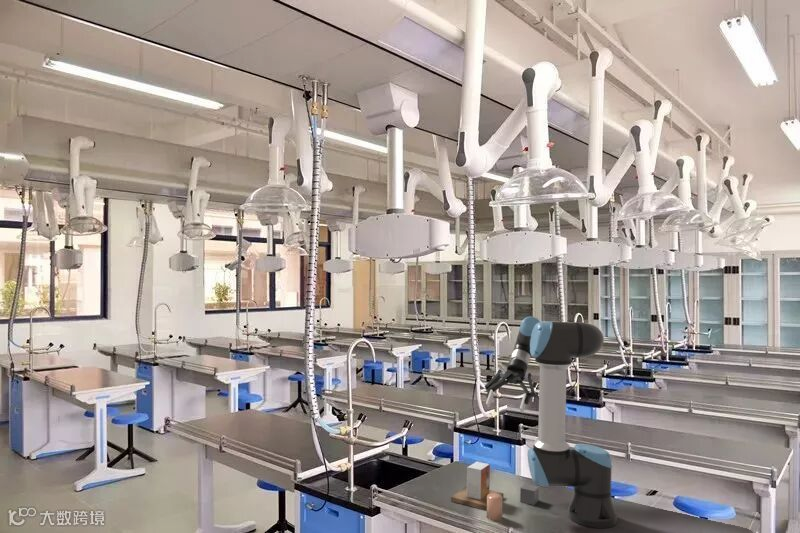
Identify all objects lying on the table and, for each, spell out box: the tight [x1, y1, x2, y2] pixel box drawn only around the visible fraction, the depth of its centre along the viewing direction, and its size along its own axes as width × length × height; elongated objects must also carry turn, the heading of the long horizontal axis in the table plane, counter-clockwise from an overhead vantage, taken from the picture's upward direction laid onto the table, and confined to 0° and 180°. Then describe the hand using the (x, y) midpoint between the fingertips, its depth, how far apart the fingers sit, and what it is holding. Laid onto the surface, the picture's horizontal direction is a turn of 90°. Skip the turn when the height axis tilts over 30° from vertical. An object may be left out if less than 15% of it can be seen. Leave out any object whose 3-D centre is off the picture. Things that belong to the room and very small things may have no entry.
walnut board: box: [450, 485, 504, 511], centre depth 199 cm, size 14×14×2 cm
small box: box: [466, 461, 491, 500], centre depth 199 cm, size 8×6×10 cm
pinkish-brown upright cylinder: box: [486, 493, 503, 522], centre depth 184 cm, size 5×5×7 cm
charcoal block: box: [519, 483, 540, 506], centre depth 199 cm, size 5×5×5 cm
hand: (504, 408), depth 213 cm, fingers open, 13 cm apart
